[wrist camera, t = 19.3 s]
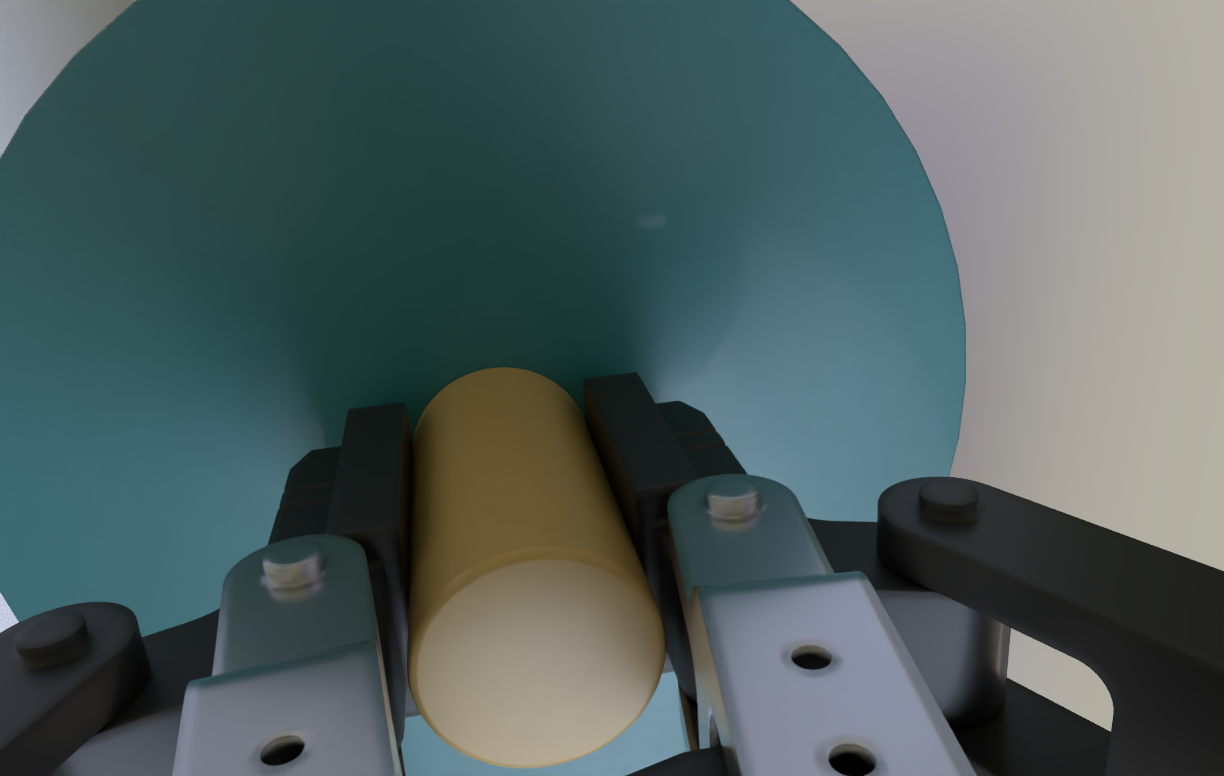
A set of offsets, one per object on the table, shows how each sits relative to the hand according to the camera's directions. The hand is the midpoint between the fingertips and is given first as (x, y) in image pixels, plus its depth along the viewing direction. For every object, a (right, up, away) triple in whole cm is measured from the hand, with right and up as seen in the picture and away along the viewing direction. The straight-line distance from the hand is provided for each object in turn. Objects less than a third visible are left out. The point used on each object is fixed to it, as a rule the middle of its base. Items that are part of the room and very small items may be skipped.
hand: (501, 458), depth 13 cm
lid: (0, 0, +1) cm, 1 cm away
